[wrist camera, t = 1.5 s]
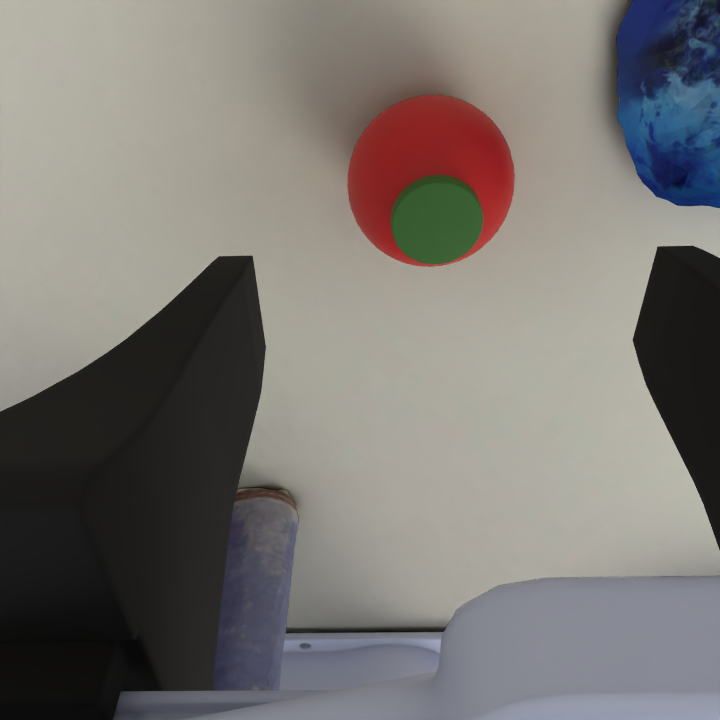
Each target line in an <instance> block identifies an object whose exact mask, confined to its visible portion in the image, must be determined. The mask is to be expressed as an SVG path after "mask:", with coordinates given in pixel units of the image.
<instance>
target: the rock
mask: <svg viewBox="0 0 720 720" xmlns="http://www.w3.org/2000/svg"><path fill="white" fill-rule="evenodd" d="M616 44H617V53H618V68H617V75H618V83H617V93H618V95H619V97H620V100H619V106H618V111H617V118H618V122H619V123H620V125H621V127H622V128H623V131H624V136H625V141H626V146H627V148H628V150H629V153H630V155H631V157H632V159H633V162H634V164H635V167H636V171H637V175H638V176H639V178H640V179H641V181H642V182H643V183H644V184H645V185H646V186H647V187H648V188H649V189H650V190H651V191H652V192H653V193H654V194H655V196H656V197H659V198H662V199H665V200H668V201H670V202H672V203H673V204H675V205H678V206H700V205H703V206H712V207H716V208H720V0H632V4H631V6H630V8H629V10H628V12H627V14H626V15H625V17H624V19H623V21H622V23H621V25H620V28H619V31H618V34H617V37H616Z"/></svg>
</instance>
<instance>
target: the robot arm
mask: <svg viewBox="0 0 720 720" xmlns="http://www.w3.org/2000/svg"><path fill="white" fill-rule="evenodd" d="M633 343H634V346H635V350H636V353H637V357H638V361H639V364H640V367H641V370H642V373H643V376H644V380H645V383H646V385H647V388H648V390H649V392H650V394H651V396H652V398H653V400H654V402H655V405H656V407H657V409H658V411H659V413H660V415H661V417H662V419H663V421H664V423H665V425H666V427H667V429H668V431H669V433H670V435H671V437H672V439H673V441H674V443H675V445H676V447H677V449H678V451H679V453H680V455H681V457H682V459H683V461H684V463H685V465H686V467H687V469H688V471H689V473H690V475H691V477H692V479H693V481H694V483H695V486H696V488H697V490H698V493H699V495H700V497H701V500H702V502H703V504H704V507H705V510H706V513H707V515H708V518H709V521H710V524H711V527H712V530H713V532H714V535H715V538H716V541H717V544H718V547H719V549H720V258H718V257H716V256H714V255H712V254H710V253H708V252H706V251H704V250H702V249H699V248H697V247H695V246H662V247H657V251H656V255H655V259H654V262H653V266H652V270H651V274H650V277H649V281H648V285H647V288H646V292H645V296H644V300H643V303H642V307H641V311H640V315H639V318H638V322H637V326H636V330H635V333H634V337H633ZM265 350H266V345H265V339H264V332H263V325H262V318H261V311H260V304H259V297H258V290H257V283H256V276H255V269H254V262H253V256H219V257H218V258H217V259H216V260H214V261H213V262H212V263H211V264H210V265H209V266H208V267H207V268H206V269H205V270H204V271H203V272H202V273H201V274H200V275H199V276H197V277H196V278H195V279H194V280H193V281H192V282H191V283H190V284H189V285H188V286H187V287H186V288H185V289H184V290H183V291H182V292H181V293H180V294H178V295H177V296H176V297H175V298H174V299H173V300H172V301H171V302H170V303H169V304H168V305H167V306H166V307H164V308H163V309H162V310H161V311H160V312H159V313H157V314H156V315H155V316H154V317H152V318H151V319H150V320H149V321H148V322H146V323H145V324H144V325H143V326H142V327H140V328H139V329H138V330H137V331H135V332H134V333H133V334H132V335H131V336H129V337H128V338H127V339H125V340H124V341H123V342H121V343H120V344H119V345H117V346H116V347H115V348H113V349H112V350H110V351H109V352H107V353H106V354H104V355H103V356H101V357H100V358H98V359H97V360H95V361H94V362H92V363H91V364H89V365H88V366H86V367H84V368H83V369H81V370H80V371H78V372H76V373H75V374H73V375H71V376H69V377H67V378H65V379H64V380H62V381H60V382H58V383H56V384H54V385H53V386H51V387H49V388H47V389H45V390H43V391H42V392H40V393H38V394H36V395H34V396H33V397H30V398H28V399H26V400H24V401H22V402H20V403H18V404H16V405H14V406H12V407H9V408H7V409H5V410H3V411H1V412H0V720H720V576H653V577H559V578H540V579H534V580H528V581H522V582H515V583H509V584H503V585H498V586H496V587H494V588H493V589H491V590H489V591H487V592H485V593H483V594H482V595H480V596H478V597H476V598H474V599H472V600H470V601H469V602H467V603H465V604H463V605H462V606H461V607H460V608H459V609H457V610H456V612H455V614H454V615H453V617H452V619H451V621H450V622H449V624H448V626H447V628H446V629H445V631H444V632H371V633H285V640H284V647H283V656H282V666H281V676H280V688H279V690H261V691H213V684H214V672H215V661H216V651H217V641H218V631H219V621H220V611H221V601H222V593H223V584H224V576H225V567H226V558H227V551H228V543H229V536H230V528H231V520H232V513H233V507H234V502H235V497H236V492H237V487H238V483H239V479H240V475H241V471H242V467H243V463H244V459H245V455H246V451H247V447H248V443H249V439H250V435H251V431H252V427H253V423H254V419H255V415H256V411H257V407H258V403H259V399H260V394H261V388H262V380H263V371H264V360H265Z"/></svg>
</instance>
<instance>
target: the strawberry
mask: <svg viewBox="0 0 720 720" xmlns="http://www.w3.org/2000/svg"><path fill="white" fill-rule="evenodd" d="M514 177H515V175H514V165H513V161H512V157H511V153H510V149H509V147H508V144H507V142H506V140H505V138H504V136H503V135H502V133H501V131H500V130H499V128H498V127H497V126H496V125H495V123H494V122H493V121H492V120H491V119H490V118H489V117H488V116H487V115H486V114H485V113H483V112H482V111H481V110H479V109H478V108H476V107H475V106H473V105H471V104H469V103H467V102H465V101H463V100H460V99H457V98H454V97H449V96H443V95H424V96H417V97H413V98H409V99H406V100H404V101H401V102H398V103H397V104H395V105H393V106H391V107H389V108H388V109H386V110H385V111H383V112H382V113H381V114H379V115H378V116H377V117H376V118H375V119H374V120H373V121H372V122H371V123H370V124H369V126H368V127H367V128H366V129H365V131H364V132H363V134H362V135H361V137H360V138H359V140H358V142H357V144H356V146H355V148H354V151H353V154H352V157H351V160H350V165H349V171H348V195H349V201H350V205H351V209H352V212H353V214H354V217H355V219H356V221H357V223H358V225H359V227H360V228H361V230H362V232H363V233H364V234H365V235H366V237H367V238H368V239H369V240H370V241H371V242H372V243H373V244H374V245H375V246H376V247H377V248H378V249H379V250H381V251H382V252H384V253H385V254H387V255H388V256H390V257H392V258H394V259H396V260H399V261H401V262H404V263H407V264H411V265H416V266H428V267H432V266H442V265H447V264H451V263H454V262H457V261H460V260H462V259H464V258H467V257H468V256H470V255H472V254H473V253H475V252H476V251H478V250H479V249H480V248H482V247H483V246H484V245H485V244H486V243H487V242H488V241H489V240H490V239H491V238H492V237H493V236H494V235H495V233H496V232H497V231H498V229H499V228H500V226H501V225H502V223H503V221H504V219H505V217H506V215H507V213H508V211H509V208H510V205H511V202H512V197H513V192H514Z"/></svg>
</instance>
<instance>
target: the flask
mask: <svg viewBox="0 0 720 720" xmlns="http://www.w3.org/2000/svg"><path fill="white" fill-rule="evenodd" d="M298 522H299V515H298V510H297V507H296V503H295V501H294V500H293V499H292V498H291V496H290V495H289V493H288V492H287V490H279V491H277V490H276V491H274V490H267V489H264V488H253V489H252V488H250V489H244V488H243V489H238V490H237V494H236V497H235V502H234V507H233V513H232V520H231V528H230V536H229V543H228V551H227V558H226V567H225V576H224V584H223V593H222V601H221V611H220V621H219V631H218V641H217V651H216V661H215V672H214V684H213V691H261V690H279V688H280V676H281V666H282V656H283V647H284V640H285V633H286V625H287V615H288V604H289V592H290V585H291V575H292V565H293V556H294V546H295V541H296V533H297V526H298Z"/></svg>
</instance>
